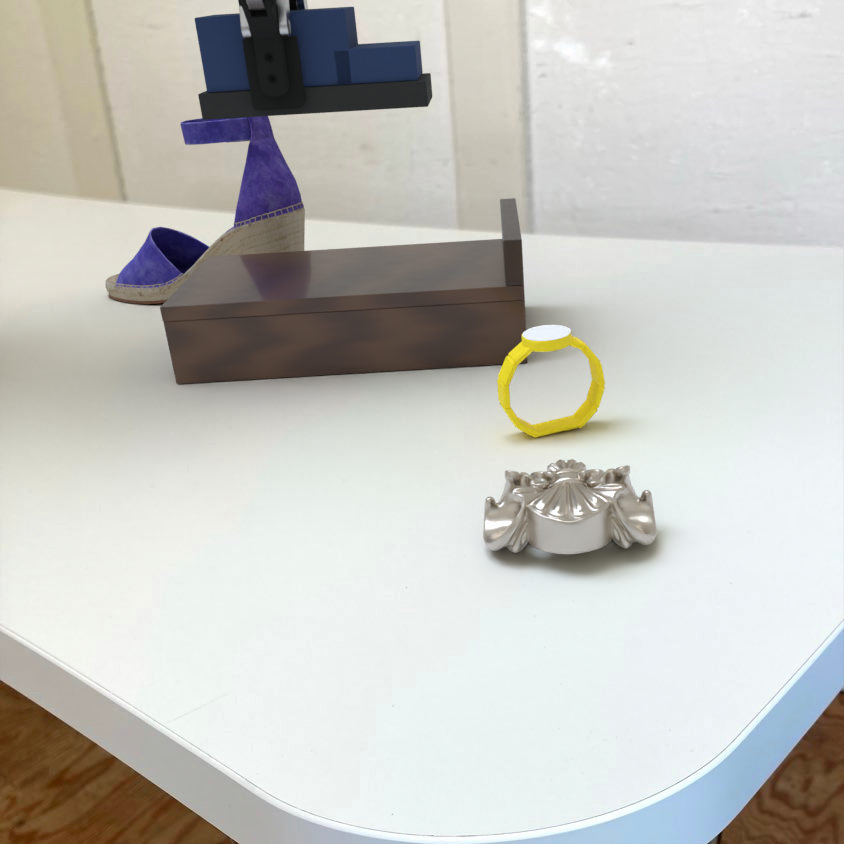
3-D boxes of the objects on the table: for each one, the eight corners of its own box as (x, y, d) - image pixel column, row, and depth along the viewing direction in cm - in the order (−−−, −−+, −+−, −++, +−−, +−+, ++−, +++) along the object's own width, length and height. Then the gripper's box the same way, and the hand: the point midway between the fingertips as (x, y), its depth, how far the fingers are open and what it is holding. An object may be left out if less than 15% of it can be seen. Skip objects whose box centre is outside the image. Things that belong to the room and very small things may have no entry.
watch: (594, 414, 63) (592, 317, 61) (610, 431, 61) (609, 331, 58) (497, 429, 62) (490, 331, 59) (509, 447, 60) (503, 345, 57)
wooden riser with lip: (175, 384, 72) (149, 261, 68) (220, 324, 85) (201, 217, 81) (528, 363, 72) (521, 239, 68) (521, 305, 85) (515, 198, 81)
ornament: (648, 500, 53) (648, 433, 51) (662, 570, 47) (663, 496, 45) (487, 507, 53) (482, 440, 51) (481, 577, 47) (475, 504, 45)
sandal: (155, 276, 100) (120, 107, 93) (329, 291, 92) (305, 107, 85) (90, 299, 94) (47, 120, 87) (271, 318, 85) (239, 121, 79)
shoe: (202, 119, 66) (184, 18, 63) (222, 109, 71) (206, 15, 68) (428, 106, 66) (419, 4, 63) (432, 97, 70) (424, 2, 68)
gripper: (210, -213, 67) (256, 92, 76) (128, -267, 52) (197, 123, 60) (328, -220, 67) (361, 86, 75) (280, -276, 52) (329, 116, 60)
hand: (288, 99), depth 68 cm, fingers closed on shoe, 5 cm apart
